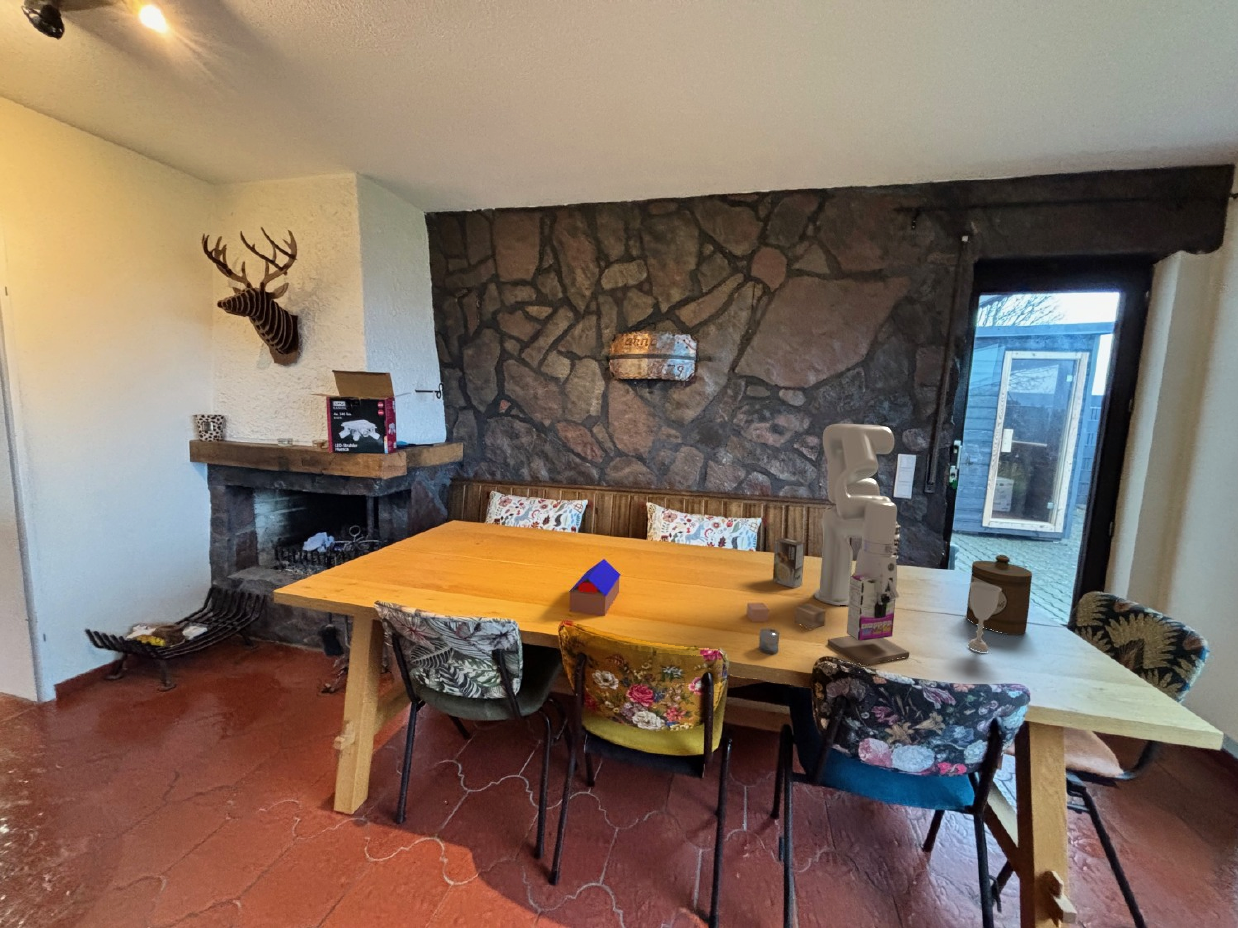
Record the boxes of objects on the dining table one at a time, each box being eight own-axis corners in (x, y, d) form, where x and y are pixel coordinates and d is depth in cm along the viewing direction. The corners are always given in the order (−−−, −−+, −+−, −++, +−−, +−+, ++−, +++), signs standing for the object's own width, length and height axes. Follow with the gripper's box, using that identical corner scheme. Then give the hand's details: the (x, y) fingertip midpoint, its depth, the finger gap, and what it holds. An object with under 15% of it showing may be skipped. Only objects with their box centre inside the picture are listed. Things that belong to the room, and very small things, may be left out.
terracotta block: (762, 614, 155) (762, 602, 154) (768, 621, 150) (769, 609, 149) (746, 615, 154) (747, 602, 154) (752, 622, 149) (753, 609, 149)
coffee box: (803, 584, 182) (806, 542, 180) (794, 588, 178) (797, 545, 176) (780, 577, 189) (783, 537, 187) (771, 581, 184) (774, 539, 182)
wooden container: (954, 614, 159) (962, 548, 157) (997, 613, 160) (1006, 548, 158) (992, 635, 145) (1001, 563, 142) (1039, 635, 146) (1049, 563, 143)
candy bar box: (878, 628, 137) (884, 572, 135) (892, 637, 132) (898, 578, 130) (844, 632, 134) (849, 574, 132) (858, 641, 129) (863, 581, 127)
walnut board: (872, 636, 142) (872, 631, 141) (908, 657, 130) (909, 651, 130) (827, 644, 136) (827, 639, 136) (861, 666, 125) (862, 660, 125)
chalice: (981, 643, 140) (988, 582, 137) (1000, 655, 133) (1008, 591, 131) (955, 642, 139) (963, 581, 137) (973, 655, 133) (981, 591, 130)
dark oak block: (807, 618, 153) (808, 603, 152) (824, 626, 148) (825, 610, 147) (794, 622, 150) (795, 607, 149) (811, 630, 145) (813, 614, 144)
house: (620, 593, 170) (621, 560, 168) (605, 617, 150) (606, 580, 149) (586, 589, 172) (587, 556, 171) (568, 612, 153) (568, 576, 151)
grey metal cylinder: (770, 644, 135) (771, 627, 135) (782, 653, 131) (783, 635, 130) (754, 646, 134) (756, 629, 133) (766, 655, 129) (767, 637, 129)
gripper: (916, 555, 123) (909, 624, 125) (862, 537, 139) (857, 599, 141) (893, 558, 121) (886, 628, 123) (841, 539, 137) (836, 602, 139)
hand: (871, 612), depth 132 cm, fingers closed on candy bar box, 5 cm apart
